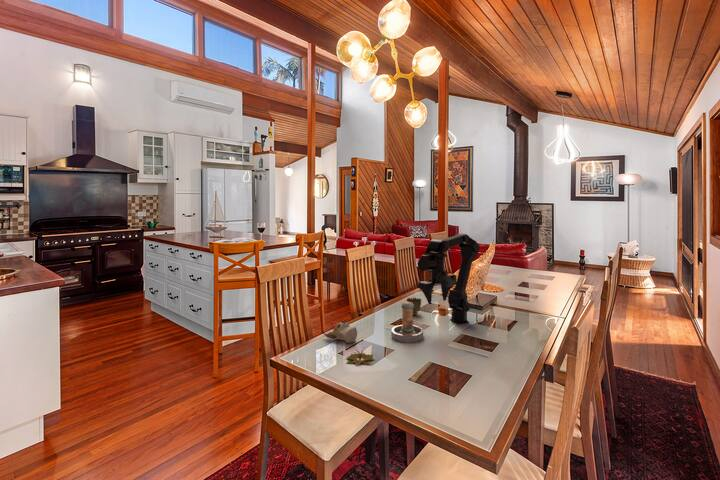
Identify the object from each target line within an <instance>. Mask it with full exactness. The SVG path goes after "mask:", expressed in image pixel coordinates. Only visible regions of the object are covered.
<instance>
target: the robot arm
mask: <svg viewBox="0 0 720 480" xmlns="http://www.w3.org/2000/svg"><path fill="white" fill-rule="evenodd" d="M456 246H458V247H459V249H460V251H459V252H460V256H461V260H460V261H461V262H460V266H459V271H458V272H457V273H458V275H456V274H451V275H450V274H449V275H448V273H447V270H445V258H447V257H448V255H447V254H446V252H448V251H449V249H450V248H452V247H456ZM480 250H481V247H480V244H479V243H478V242H477V241H476V240H474V239H473V238H472V237H470V235H468V234H466V233H457V234H455V235H453V236H450V237H446V238H442V239H438V238H437V239H435V238H434V239H431V240H429V243H428V245H427V248H426V250H425V251H424V253H423V254H421V255H420V258H419V259H418V261H417V268H418V269H419V271H421V272H427V271H428V273H430V278H429V279H428V281H426V280H424V281H419V282H418V283H417V289H418V290H420V291H422V294H423V295H424V296H425V299H426V301H427V304H429V305H431V304H432V296H433V292H434V287H436V286H440V289H441V296H442V300H443V301H445V302H446V301H447V302H448V307H449V309H451V310H452V311H451V318H450V321H451V322H453V323H455V324H456V325H460V324H466V323H469V322H470V321H469V320H468V312H469V311H470V310H471V304H470V302H469V301H468V294H467V291H466V290H467V285H468V281H469V278H470V273H471V272H470V271H471V269H472V264H473V261H474V260H475V259H476V258H477V257H478V255H479V252H480Z"/></svg>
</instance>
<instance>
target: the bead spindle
mask: <svg viewBox="0 0 720 480" xmlns="http://www.w3.org/2000/svg"><path fill="white" fill-rule="evenodd" d="M400 306H401V309H402V310H401V312H402V317H401V318H402V320H401V321H402V322H401V323H402V324H401V325H402V328H401V331H400V334H402V335H414V334H415V331H414V328H413V325H414V324H413V322H414V321H413V318H414V317H413V316H414V315H413V308H414V304H413V303H412V302H407V301H403V302H402V303H401V305H400Z"/></svg>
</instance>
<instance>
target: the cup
mask: <svg viewBox="0 0 720 480" xmlns="http://www.w3.org/2000/svg"><path fill="white" fill-rule="evenodd" d="M406 302H412V303H413V304H414V308H413V316H417V315H418V312H419V311H420V310H421V305H422V299H421V298H418V297H411V298H410V297H408V298H406Z"/></svg>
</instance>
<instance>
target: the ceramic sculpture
mask: <svg viewBox="0 0 720 480" xmlns="http://www.w3.org/2000/svg"><path fill="white" fill-rule="evenodd" d="M357 329H358V328H357V327H356V326H354V327H351V325H350V324H349V323H348V322H347V321H345V320H342V321H341V322H338V323H336V324H335V325H334V326H333V330H332V331H329V332H327V333H323V335H324V336H325V338H328V339H331V340H333V339H334V340H335V339H336V340H339V341H344V342H346V343H347V344H353V343H354V342H355V341H356V340H357V337H358V330H357Z"/></svg>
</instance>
